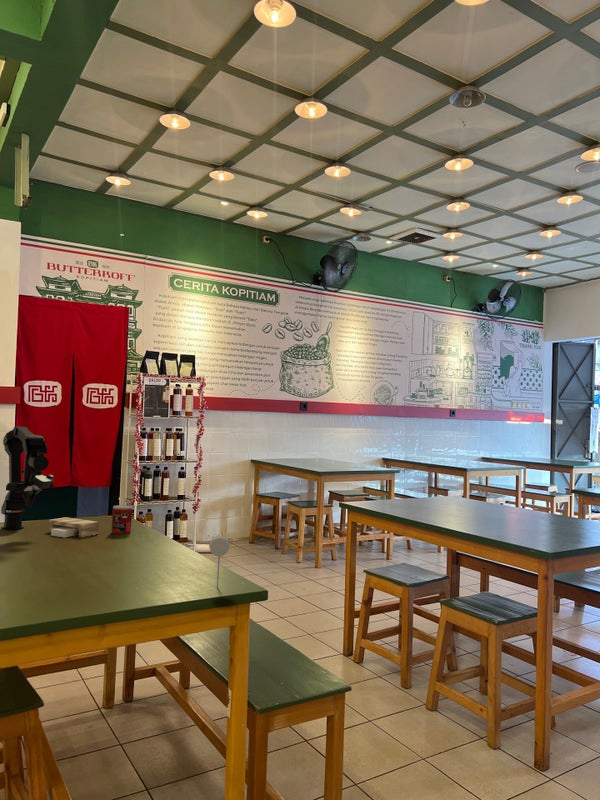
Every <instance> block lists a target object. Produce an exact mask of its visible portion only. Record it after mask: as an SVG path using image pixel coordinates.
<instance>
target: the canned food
mask: <svg viewBox="0 0 600 800" xmlns="http://www.w3.org/2000/svg"><path fill="white" fill-rule="evenodd" d="M132 515H133V506H132V505H127V504H126V505H125V504H123V505H122V504H120V505H113V506H112V515H111V533H112V534H113V535H129V534H130V533H131V531H132V518H133V516H132Z"/></svg>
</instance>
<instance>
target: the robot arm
mask: <svg viewBox="0 0 600 800" xmlns="http://www.w3.org/2000/svg"><path fill="white" fill-rule="evenodd" d="M2 444H3V445H2V446H4V451H5V453H6V454H7V456H8V475H9V476H8V482H7V484H5V486H6V487H5V491H8V492H7V493H6V494H5V497H4V500H3V504H2V505H1V509H0V513H1V514H2V515H4V523H3V524H4V525H3V526H1V527H0V529H1V530H2V529H3V530H9V531H12V530H13V531H14V530H20V529H24V528H25V526H23V525H22V524H23V515H25V514H26V513H27V509H29V508H32V506H33V503H34V501H35V499H36V497H37V495H38V494H39V493H40V492H42V491H43V489H52V488H53V489H54V486H55V482H54V475H52V474H49V475H48V474H47V475H43V471H44V470H47V468H48V466H49V464H50V462H49V459H48V458H47V457H46V456H45V455H47V454H48V451H49V449H48V447H47V446H48V445H47V443H46V439H44V437H43V436H42V435H38V434H37V435H36V434H34V433H33V432H31V431H30V429H28V427H26V426H13V429H11V430H9V431H8V432H6V433H5V434H4V437H3V439H2ZM22 453H24V463H23V464H24V465H23V469H22ZM22 474H23V475H22ZM22 477H23V479H22Z"/></svg>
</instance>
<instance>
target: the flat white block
mask: <svg viewBox="0 0 600 800" xmlns="http://www.w3.org/2000/svg"><path fill="white" fill-rule="evenodd" d="M75 532H79V528H75V527H68V526H66V527H61V528H55V529H51V533H50V536H52V537H59V538H68V537H75V536H74V533H75Z"/></svg>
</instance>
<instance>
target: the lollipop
mask: <svg viewBox="0 0 600 800" xmlns="http://www.w3.org/2000/svg"><path fill="white" fill-rule="evenodd" d="M208 547H209V551H210V553H211V554H212V555H214V556H215V557H217V573H216V588H219V581H220V580H219V578H220V575H219V574H220V561H221V560H220V559H221V558H220V557H223V556H225V555H226V554H228V552H229V550H230V549H231V544H230V541H229V540H228V538H226V537H224V536H222V535H219V536H215V537H214V538H212V539H211V541H210V543H209V546H208Z"/></svg>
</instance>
